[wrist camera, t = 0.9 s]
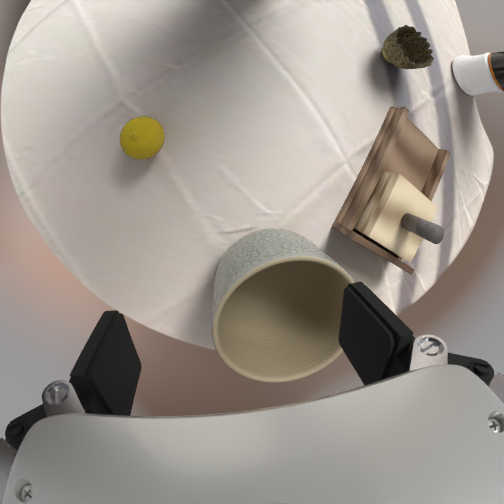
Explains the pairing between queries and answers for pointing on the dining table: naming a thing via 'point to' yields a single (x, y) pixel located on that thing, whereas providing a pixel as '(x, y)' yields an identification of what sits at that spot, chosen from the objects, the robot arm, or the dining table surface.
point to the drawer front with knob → (399, 216)
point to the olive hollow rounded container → (407, 49)
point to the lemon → (142, 137)
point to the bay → (397, 161)
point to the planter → (277, 306)
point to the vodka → (480, 73)
